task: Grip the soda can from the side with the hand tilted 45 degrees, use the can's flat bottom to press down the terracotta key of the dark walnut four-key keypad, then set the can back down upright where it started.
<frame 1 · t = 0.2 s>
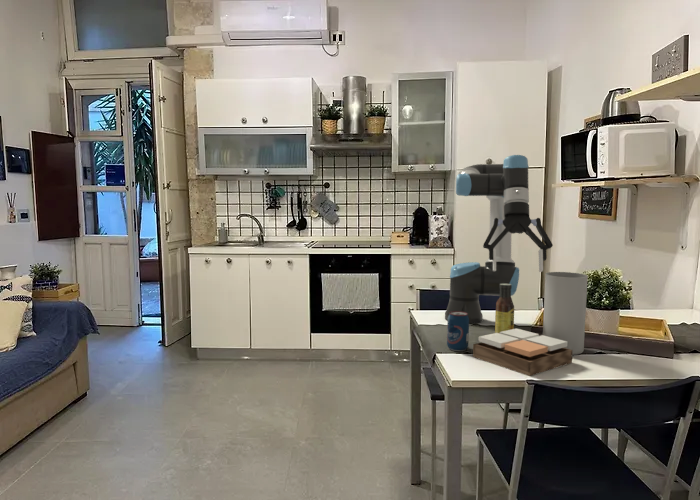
hand: (517, 271, 152), 27 cm above the table, tool tilted 15°, fingers open, 13 cm apart
soda can: (457, 349, 164), on the table
key c: (546, 342, 151), point 6 cm above the table, slide at 0.0 cm
cylinder vase: (562, 350, 163), on the table
sauce bottle: (503, 340, 174), on the table
key b: (498, 340, 154), point 6 cm above the table, slide at 0.0 cm
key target: (526, 348, 145), point 6 cm above the table, slide at 0.0 cm
key a: (518, 335, 159), point 6 cm above the table, slide at 0.0 cm
keypad: (521, 359, 153), on the table
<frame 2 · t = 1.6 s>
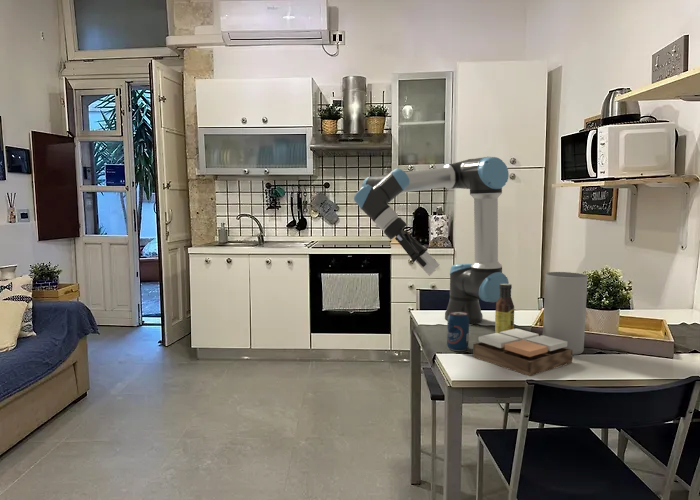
hand: (434, 270, 165), 26 cm above the table, tool tilted 45°, fingers open, 13 cm apart
nothing on the table moved.
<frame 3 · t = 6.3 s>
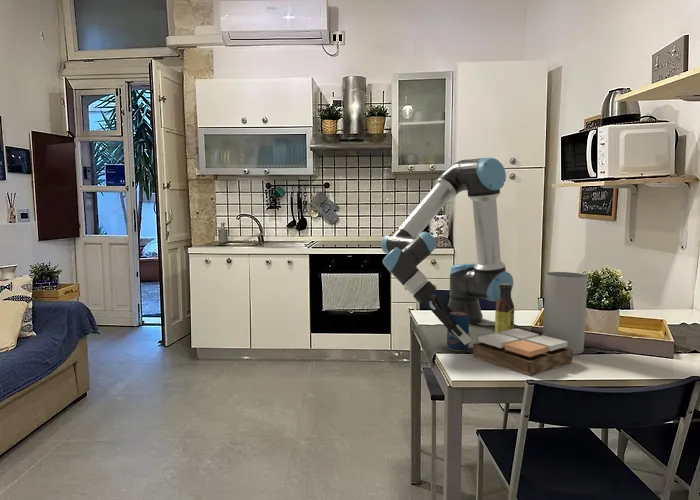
hand: (468, 339, 163), 3 cm above the table, tool tilted 45°, fingers closed on soda can, 7 cm apart
soda can: (457, 349, 164), on the table, touching gripper
everything else where it was.
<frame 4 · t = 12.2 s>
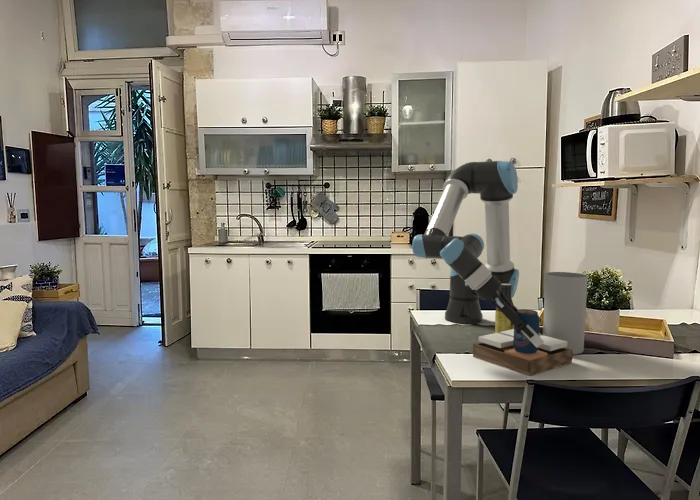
hand: (539, 340, 144), 8 cm above the table, tool tilted 45°, fingers closed on soda can, 7 cm apart
soda can: (525, 352, 146), point 4 cm above the table, touching gripper, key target
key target: (525, 354, 146), point 4 cm above the table, slide at 1.8 cm, touching soda can
everything else where it was.
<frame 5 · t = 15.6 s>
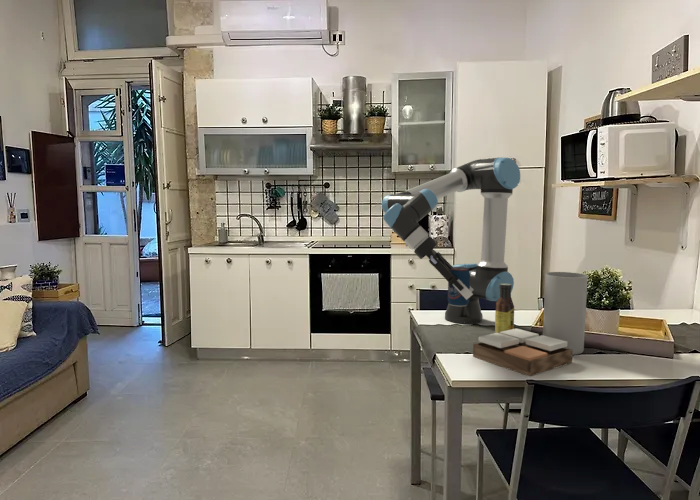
hand: (470, 294, 161), 18 cm above the table, tool tilted 45°, fingers closed on soda can, 7 cm apart
soda can: (458, 305, 162), point 15 cm above the table, touching gripper
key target: (525, 354, 146), point 4 cm above the table, slide at 1.8 cm
everything else where it was.
when the fingers open (5 cm above the table, at t = 18.4 s): soda can drops 1 cm, on the table.
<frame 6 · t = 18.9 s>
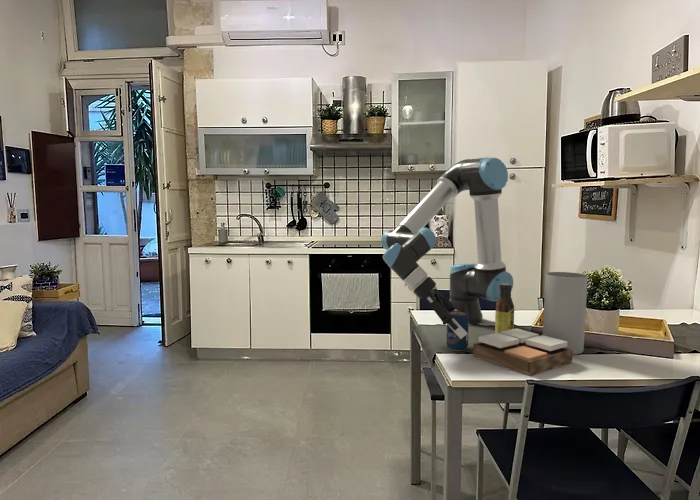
hand: (465, 330, 163), 6 cm above the table, tool tilted 45°, fingers open, 13 cm apart
soda can: (457, 349, 164), on the table
everything else where it was.
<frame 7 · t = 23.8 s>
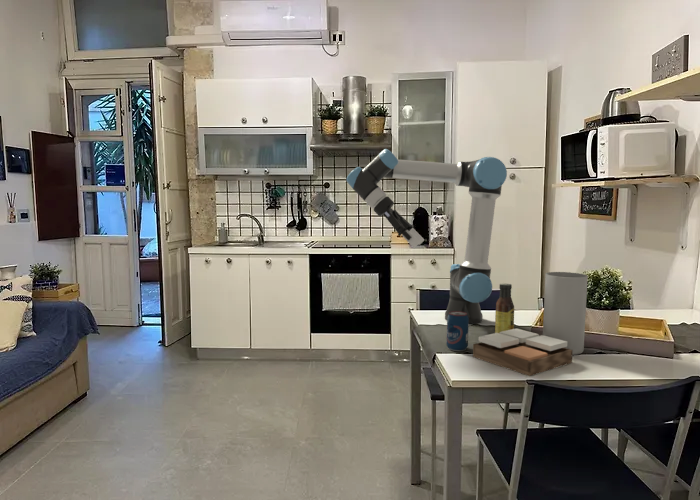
hand: (419, 244, 182), 33 cm above the table, tool tilted 45°, fingers open, 13 cm apart
nothing on the table moved.
at the end: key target slide at 1.8 cm; soda can tilted 0°; soda can inside the target area (0.1 cm from its centre), on the table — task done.
